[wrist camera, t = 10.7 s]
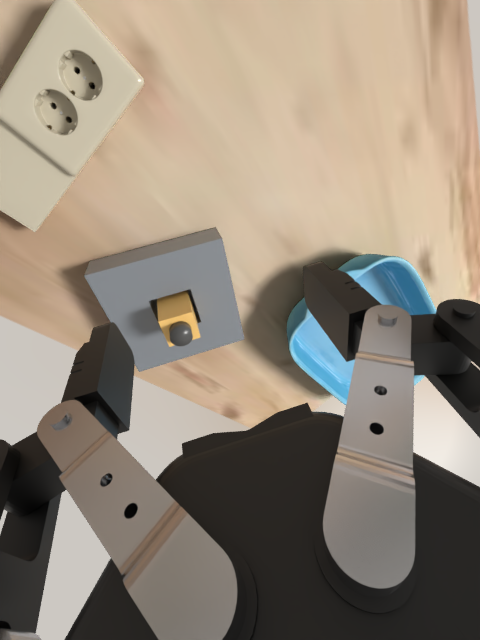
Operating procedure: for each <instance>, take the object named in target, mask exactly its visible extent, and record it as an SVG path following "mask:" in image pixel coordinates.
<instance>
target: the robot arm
mask: <svg viewBox="0 0 480 640" xmlns="http://www.w3.org/2000/svg"><path fill="white" fill-rule="evenodd" d="M303 283H304V297H305V302H306V305H307V308H308V310H309V311H310V313H311V314H312V315H313V317H314V318H315V319H316V321H317V322H318V324H319V325H320V326H321V328H322V329H323V330H324V332H325V333H326V335H327V336H328V337H329V339H330V340H331V341H332V343H333V344H334V345H335V347H336V348H337V350H338V351H339V352H340V354H341V355H342V356H343V358H344V359H345V361H346V362H349V361H352V360H355V362H354V368H353V373H352V378H351V383H350V388H349V393H348V399H347V404H346V409H345V414H344V417H343V416H341V415H337V414H333V413H327V412H312V411H311V409H310V407H309V405H308V403H305V404H302V405H299V406H296V407H293V408H290V409H287V410H284V411H281V412H278V413H276V414H274V415H272V416H271V417H269V418H268V419H266V420H264V421H263V422H261V423H259V424H258V425H256V426H255V427H253V428H251V429H250V430H247V431H238V432H224V433H213V434H210V435H207V436H204V437H200V438H197V439H194V440H191V441H188V442H185V443H183V444H182V450H183V454H182V455H181V456H179V457H178V458H176V459H175V460H174V461H173V462H172V463H171V464H169V465H168V466H167V467H166V468H165V469H164V471H163V472H162V473H161V474H160V475H159V476H158V478H157V479H156V480H155V479H154V478H153V477H152V476H151V475H150V474H149V473H148V472H147V471H146V470H145V469H144V468H143V467H142V465H141V464H140V463H139V462H137V460H136V459H135V458H134V457H133V456H132V455H131V454H130V453H129V452H128V451H127V450H126V449H125V448H124V447H123V446H122V445H121V444H120V443H119V442H118V441H117V435H118V434H119V433H122V432H125V431H128V430H129V426H130V413H131V401H132V388H133V376H134V364H135V361H134V356H133V352H132V350H131V348H130V346H129V345H128V343H127V341H126V340H125V338H124V337H123V335H122V333H121V332H120V330H119V328H118V327H117V325H116V324H115V323H114V322H111V323H108V324H105V325H101V326H98V327H94V328H93V330H92V334H91V337H90V341H89V342H87V343H84V344H83V346H82V347H81V348H80V350H79V351H78V352H77V354H76V357H75V360H74V363H73V365H74V366H72V370H71V374H70V376H69V379H68V382H67V385H66V388H65V392H64V395H63V398H62V401H61V403H60V404H58V405H56V406H55V407H53V408H52V409H51V410H50V411H48V412H47V413H46V414H45V416H44V417H43V418H42V420H41V421H40V423H39V425H38V428H37V432H36V433H33V434H32V435H30V436H28V437H26V438H25V439H23V440H21V441H19V442H18V443H16V444H14V445H12V446H11V445H10V444H8V443H7V442H6V441H4V440H0V519H1V516H2V513H3V510H4V509H5V510H6V511H8V512H7V515H6V519H5V522H4V525H3V528H2V531H1V535H0V640H41V639H40V637H39V636H38V635H36V634H35V633H36V628H37V622H38V617H39V611H40V606H41V601H42V595H43V590H44V585H45V579H46V574H47V568H48V563H49V558H50V552H51V547H52V541H53V536H54V531H55V525H56V520H57V515H58V509H59V504H60V498H61V493H62V492H63V491H65V490H67V491H68V492H69V494H70V495H71V497H72V498H73V500H74V502H75V503H76V505H77V506H78V508H79V509H80V511H81V512H82V514H83V515H84V517H85V518H86V520H87V522H88V523H89V525H90V526H91V528H92V529H93V531H94V532H95V534H96V535H97V537H98V538H99V540H100V541H101V543H102V544H103V546H104V548H105V549H106V550H107V552H108V554H109V555H110V557H111V559H110V561H109V562H108V564H107V566H106V568H105V569H104V571H103V573H102V575H101V576H100V578H99V580H98V582H97V584H96V585H95V587H94V589H93V591H92V592H91V594H90V596H89V598H88V599H87V601H86V603H85V605H84V607H83V608H82V610H81V612H80V614H79V615H78V617H77V619H76V620H75V622H74V624H73V626H72V628H71V630H70V631H69V633H68V635H67V636H66V638H65V640H480V487H479V486H476V485H475V484H473V483H471V482H469V481H467V480H465V479H463V478H461V477H459V476H458V475H456V474H454V473H452V472H450V471H448V470H446V469H444V468H442V467H440V466H438V465H436V464H435V463H433V462H431V461H429V460H427V459H425V458H423V457H421V456H419V455H418V454H416V453H414V452H413V412H414V411H413V410H414V405H413V404H414V376H415V375H425V376H426V377H427V378H428V379H429V381H430V382H431V383H432V384H433V385H434V386H435V387H436V389H437V390H438V391H439V392H440V393H441V394H442V395H443V397H444V398H445V399H446V400H447V401H448V402H449V403H450V404H451V406H452V407H453V408H454V409H455V410H456V411H457V412H458V413H459V415H460V416H461V417H462V418H463V419H464V420H465V422H466V423H467V424H468V425H469V426H470V427H471V428H472V429H473V431H474V432H475V433H476V434H477V435H478V436H479V437H480V370H479V369H478V368H477V367H475V366H474V365H473V364H472V363H471V361H473V362H474V363H475V364H476V365H477V366H478V367H479V368H480V304H478V303H475V302H472V301H468V300H462V299H452V300H447V301H444V302H442V303H440V304H439V305H438V307H437V310H436V314H423V315H410V314H409V313H408V312H407V311H405V310H404V309H402V308H400V307H397V306H393V305H382V304H381V303H380V302H379V301H377V300H376V299H375V298H374V297H373V296H372V295H371V294H370V293H369V292H367V291H366V290H365V289H364V288H363V287H361V285H360V284H359V283H357V282H355V280H354V279H353V278H352V277H351V276H350V275H349V274H348V273H345V272H342V271H340V270H337V269H335V270H331V269H329V268H328V267H327V266H326V265H325V264H324V263H323V262H322V261H320V262H317V263H314V264H310V265H307V266H304V267H303Z"/></svg>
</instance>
